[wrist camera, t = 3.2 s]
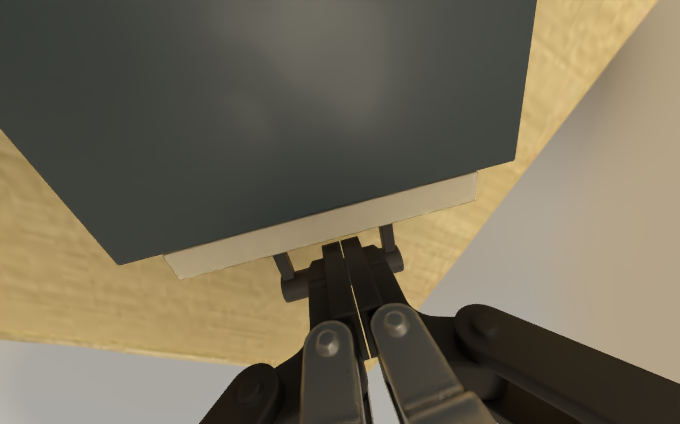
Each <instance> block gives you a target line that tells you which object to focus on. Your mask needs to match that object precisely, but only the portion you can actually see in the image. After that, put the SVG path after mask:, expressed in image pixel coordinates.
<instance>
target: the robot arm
mask: <svg viewBox="0 0 680 424" xmlns="http://www.w3.org/2000/svg"><path fill="white" fill-rule="evenodd" d="M341 245H342V249H343V253H344V257H345V261H346V264H347V268H348V272H349V276H350V280H351V283H352V287H353V291H354V295H355V299H356V302H357V306H358V310H359V314H360V318H361V321H362V325H363V329H364V332H365V336H366V339H367V343H368V347H369V350H370V354H371V358H374V357H378V360H379V364H380V367H381V371H382V374H383V378H384V382H385V385H386V388H387V390H388V393H389V396H390V399H391V402H392V404H393V407H394V410H395V413H396V416H397V419H398V421H399V424H497V423H498V424H680V384H679V383H676V382H674V381H671V380H669V379H666V378H664V377H662V376H659V375H657V374H654V373H652V372H649V371H647V370H644V369H642V368H640V367H637V366H635V365H632V364H630V363H627V362H625V361H623V360H620V359H618V358H615V357H613V356H610V355H608V354H605V353H603V352H601V351H598V350H596V349H593V348H591V347H588V346H586V345H583V344H581V343H579V342H576V341H574V340H571V339H569V338H566V337H564V336H561V335H559V334H557V333H554V332H552V331H549V330H547V329H544V328H542V327H540V326H537V325H535V324H532V323H530V322H527V321H524V320H522V319H520V318H518V317H515V316H513V315H510V314H508V313H505V312H503V311H500V310H498V309H495V308H493V307H490V306H487V305H481V304H472V305H467V306H465V307H463V308H461V309H460V310H459V311H458V312H457V314H456V316H455V317H437V316H429V315H425V314H422V313H420V312H418V311H416V310H415V309H413V308H412V307H411V306H410V305H409V304H408V302H407V300H406V299H405V297H404V295H403V293H402V291H401V289H400V286H399V284H398V282H397V280H396V278H395V276H394V274H393V272H392V270H391V269H390V266H389V264H388V262H387V260H386V258H385V256H384V254H383V252H382V251H381V250H380V249H379V248H377V247H376V246H374V245H370V246H366V247H363V248H362V247H361V244H360V242H359V239H358V237H357V236H356V237H352V238H348V239H345V240H341ZM322 252H323V258H322V259H319V260H315V261H312V263H311V265H310V267H309V269H308V271H307V274H308V291H309V293H308V295H309V317H310V332H309V334H308V335H307V337H306V339H305V342H304V346H303V347H302V348H301V350H300V351H299V352H298V353H297V354H295V355H294V356H293V357H291V358H290V359H288V360H287V361H285V362H284V363H282V364H280V365H279V366H277V367H276V368H273V367H272V366H270V365H268V364H265V363H258V364H254V365H251V366H249V367H248V368H246V369H244V370H243V371H242V372H241V373H239V374H238V375H237V376H236V378H235V379H234V380H233V381H232V382H231V384H230V385H229V386H228V387H227V389H226V390H225V391H224V393H223V394H222V395H221V397H220V398H219V399H218V400H217V402H216V403H215V404H214V405H213V407H212V408H211V409H210V410H209V412H208V413H207V414H206V416H205V417H204V418H203V420H202V421H201V422H200V423H199V424H374V421H373V414H372V407H371V401H370V395H369V388H368V379H367V373H366V369H365V365H364V360H368V359H370V358H369V354H368V350H367V347H366V343H365V339H364V335H363V331H362V327H361V323H360V319H359V315H358V311H357V308H356V304H355V300H354V296H353V292H352V288H351V284H350V280H349V276H348V273H347V269H346V265H345V262H344V258H343V254H342V251H341V247H340V244H339V241H337V242H334V243H330V244H326V245H323V246H322ZM496 422H497V423H496Z"/></svg>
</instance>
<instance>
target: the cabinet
mask: <svg viewBox="0 0 680 424" xmlns="http://www.w3.org/2000/svg"><path fill="white" fill-rule="evenodd" d="M536 3H537V0H0V129H1V130H2V131H3V132H4V134H5V135H6V136H7V137H8V138H9V139H10V141H11V142H12V143H13V144H14V145H15V146H16V147H17V149H18V150H19V151H20V152H21V153H22V154H23V156H24V157H25V158H26V159H27V160H28V161H29V163H30V164H31V165H32V166H33V167H34V168H35V170H36V171H37V172H38V173H39V174H40V175H41V177H42V178H43V179H44V180H45V181H46V182H47V183H48V185H49V186H50V187H51V188H52V189H53V190H54V192H55V193H56V194H57V195H58V196H59V197H60V199H61V200H62V201H63V202H64V203H65V204H66V206H67V207H68V208H69V209H70V210H71V211H72V213H73V214H74V215H75V216H76V217H77V218H78V219H79V221H80V222H81V223H82V224H83V225H84V226H85V228H86V229H87V230H88V231H89V232H90V233H91V235H92V236H93V237H94V238H95V239H96V240H97V242H98V243H99V244H100V245H101V246H102V247H103V249H104V250H105V251H106V252H107V253H108V254H109V255H110V257H111V258H112V259H113V260H114V261H115V262H116V264H118V265H123V264H127V263H130V262H134V261H138V260H142V259H145V258H149V257H153V256H157V255H160V254H164V253H168V252H172V251H175V250H179V249H183V248H187V247H190V246H194V245H198V244H202V243H206V242H209V241H213V240H217V239H221V238H224V237H228V236H232V235H236V234H239V233H243V232H247V231H251V230H254V229H258V228H262V227H266V226H270V225H273V224H277V223H281V222H285V221H288V220H292V219H296V218H300V217H303V216H307V215H311V214H315V213H318V212H322V211H326V210H330V209H333V208H337V207H341V206H345V205H349V204H352V203H356V202H360V201H364V200H367V199H371V198H375V197H379V196H382V195H386V194H390V193H394V192H397V191H401V190H405V189H409V188H413V187H416V186H420V185H424V184H428V183H431V182H435V181H439V180H443V179H446V178H450V177H454V176H458V175H461V174H465V173H469V172H473V171H477V170H480V169H484V168H488V167H492V166H495V165H499V164H503V163H507V162H510V161H513V160H514V159H515V154H516V147H517V140H518V133H519V125H520V118H521V111H522V104H523V97H524V90H525V82H526V75H527V68H528V61H529V54H530V47H531V39H532V32H533V25H534V18H535V11H536Z"/></svg>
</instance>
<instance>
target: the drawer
mask: <svg viewBox="0 0 680 424" xmlns="http://www.w3.org/2000/svg"><path fill="white" fill-rule="evenodd" d="M477 176H478V172H477V171H473V172H469V173H465V174H461V175H458V176H454V177H450V178H446V179H443V180H439V181H435V182H431V183H428V184H424V185H420V186H416V187H413V188H409V189H405V190H401V191H397V192H394V193H390V194H386V195H382V196H379V197H375V198H371V199H367V200H364V201H360V202H356V203H352V204H349V205H345V206H341V207H337V208H333V209H330V210H326V211H322V212H318V213H315V214H311V215H307V216H303V217H300V218H296V219H292V220H288V221H285V222H281V223H277V224H273V225H270V226H266V227H262V228H258V229H254V230H251V231H247V232H243V233H239V234H236V235H232V236H228V237H224V238H221V239H217V240H213V241H209V242H206V243H202V244H198V245H194V246H190V247H187V248H183V249H179V250H175V251H172V252H168V253H164V254H163V258H164V259H165V260H166V262H167V263H168V265H169V266H170V267H171V269H172V270H173V271H174V273H175V274H176V276H177V277H178V278H179V280H183V279H187V278H191V277H194V276H198V275H202V274H205V273H209V272H213V271H217V270H220V269H224V268H228V267H231V266H235V265H239V264H242V263H246V262H250V261H254V260H257V259H261V258H265V257H268V256H272V255H273V258H274V260H275V262H276V264H277V267H278V269H279V271H280V273H281V289H282V293H283V296H284V299H285V301H286V302H288V303H289V302H293V301H296V300H300V299H303V298H307V297H309V295H308V293H309V291H308V274H307V271H308V269H309V268H306V269H302V270H299V271H294V268H293V266H292V263H291V261H290V258H289V256H288V253H287V251H291V250H294V249H298V248H302V247H305V246H309V245H313V244H317V243H320V242H324V241H328V240H331V239H335V238H339V237H342V236H346V235H350V234H354V233H357V232H361V231H365V230H368V229H372V228H376V227H379V232H380V238H381V244H382V248H379V249H380V250H381V251H382V252H383V254H384V256H385V258H386V260H387V262H388V264H389V266H390V269H391V270H392V272H393V273H397V272H401V271H403V270H404V264H403V260H402V256H401V253H400V251H399V249H398V247H397V246H396V245H395V242H394V234H393V226H392V223H394V222H398V221H402V220H405V219H409V218H413V217H416V216H420V215H424V214H428V213H431V212H435V211H439V210H442V209H446V208H450V207H453V206H457V205H461V204H465V203H468V202H472V201H475V200H476V192H477ZM344 262H345V265H346V269H347V273H348V276H349V272H348V268H347V264H346V261H345V258H344ZM349 280H350V276H349ZM350 284H351V285H352V283H351V280H350Z"/></svg>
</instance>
